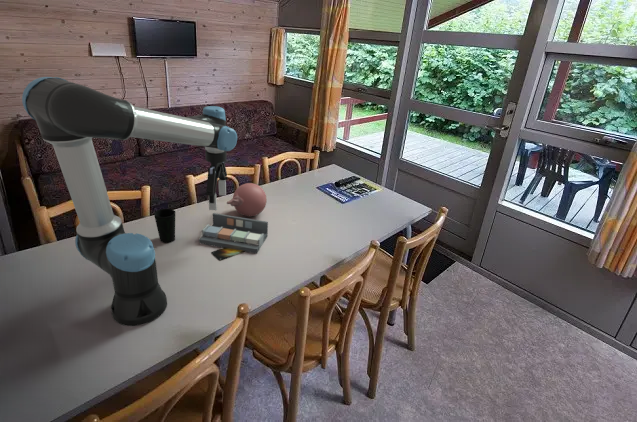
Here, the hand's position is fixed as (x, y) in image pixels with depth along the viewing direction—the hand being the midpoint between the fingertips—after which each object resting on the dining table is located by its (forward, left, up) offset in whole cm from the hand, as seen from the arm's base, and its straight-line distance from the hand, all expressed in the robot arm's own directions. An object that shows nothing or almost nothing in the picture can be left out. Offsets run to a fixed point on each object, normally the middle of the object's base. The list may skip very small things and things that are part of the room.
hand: (217, 202), depth 143 cm
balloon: (+22, -3, -17) cm, 28 cm away
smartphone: (-7, -9, -17) cm, 20 cm away
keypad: (+1, -6, -16) cm, 18 cm away
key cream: (-1, -15, -14) cm, 21 cm away
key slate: (-1, +2, -14) cm, 15 cm away
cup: (-7, +19, -17) cm, 26 cm away
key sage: (-1, -9, -14) cm, 17 cm away
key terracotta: (-1, -3, -14) cm, 15 cm away
